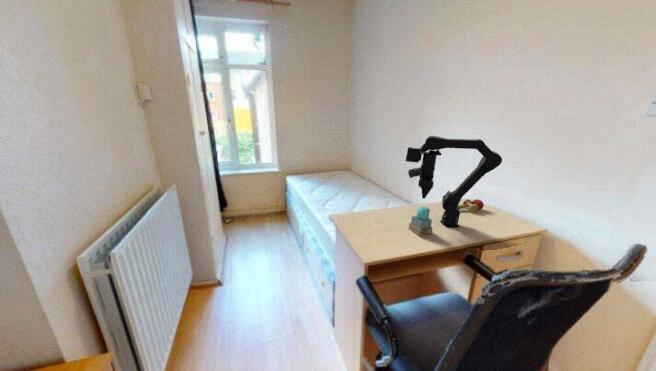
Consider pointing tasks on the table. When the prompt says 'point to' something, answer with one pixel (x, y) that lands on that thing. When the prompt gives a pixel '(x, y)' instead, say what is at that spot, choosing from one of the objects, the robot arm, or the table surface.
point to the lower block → (420, 230)
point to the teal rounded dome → (423, 213)
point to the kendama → (472, 205)
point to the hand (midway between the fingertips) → (423, 195)
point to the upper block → (421, 223)
